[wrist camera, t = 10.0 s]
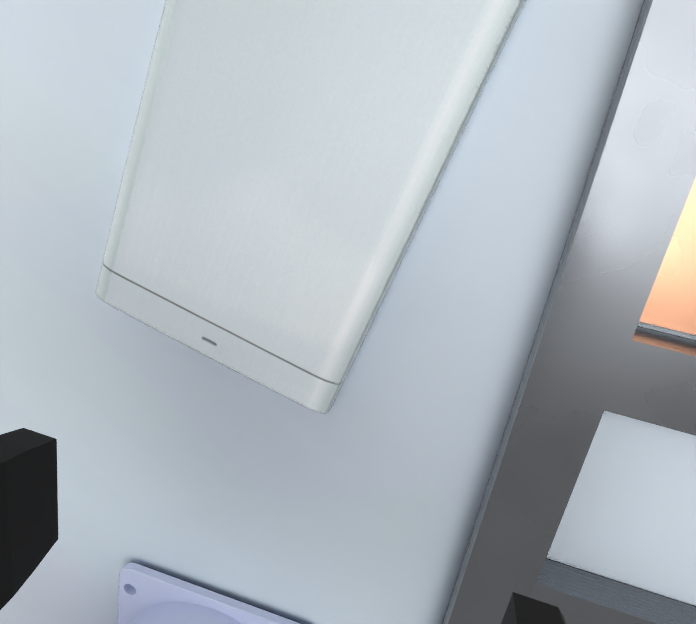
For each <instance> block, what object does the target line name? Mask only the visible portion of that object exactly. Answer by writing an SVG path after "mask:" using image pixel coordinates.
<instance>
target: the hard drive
mask: <svg viewBox="0 0 696 624" xmlns="http://www.w3.org/2000/svg"><path fill="white" fill-rule="evenodd" d="M525 1H526V0H166V1H165V6H164V10H163V14H162V18H161V22H160V26H159V30H158V33H157V37H156V41H155V45H154V49H153V53H152V57H151V61H150V65H149V70H148V74H147V78H146V82H145V87H144V91H143V95H142V99H141V103H140V107H139V111H138V116H137V120H136V124H135V128H134V132H133V136H132V140H131V144H130V149H129V153H128V157H127V160H126V166H125V170H124V173H123V177H122V181H121V185H120V190H119V194H118V198H117V202H116V207H115V211H114V216H113V220H112V225H111V229H110V233H109V237H108V241H107V245H106V249H105V253H104V258H103V265H102V267H101V272H100V276H99V280H98V285H97V289H96V295H97V296H98V297H99V298H100V299H101V300H102V301H104V302H105V303H107V304H109V305H110V306H112V307H114V308H116V309H118V310H120V311H122V312H124V313H126V314H127V315H129V316H131V317H133V318H135V319H137V320H139V321H141V322H143V323H145V324H146V325H148V326H150V327H152V328H154V329H156V330H158V331H160V332H162V333H164V334H166V335H167V336H169V337H171V338H173V339H175V340H177V341H179V342H181V343H183V344H185V345H187V346H188V347H190V348H192V349H194V350H196V351H198V352H200V353H202V354H204V355H206V356H208V357H209V358H211V359H214V360H216V361H217V362H219V363H221V364H223V365H225V366H226V367H228V368H230V369H232V370H234V371H236V372H238V373H240V374H242V375H244V376H246V377H248V378H250V379H252V380H254V381H256V382H258V383H260V384H261V385H263V386H265V387H267V388H269V389H271V390H273V391H275V392H277V393H279V394H281V395H283V396H285V397H287V398H289V399H291V400H293V401H295V402H296V403H298V404H300V405H302V406H304V407H306V408H309V409H311V410H313V411H317V412H320V413H324V414H326V413H327V412H328V411H329V409H330V407H331V406H332V403H333V402H334V400H335V398H336V396H337V394H338V392H339V390H340V388H341V385H342V383H343V381H344V379H345V377H346V375H347V373H348V371H349V369H350V367H351V365H352V363H353V361H354V359H355V357H356V355H357V353H358V351H359V348H360V346H361V344H362V342H363V340H364V338H365V336H366V334H367V332H368V330H369V328H370V325H371V323H372V321H373V319H374V317H375V315H376V313H377V311H378V309H379V307H380V305H381V303H382V300H383V298H384V296H385V294H386V292H387V290H388V288H389V286H390V284H391V282H392V280H393V278H394V275H395V273H396V271H397V269H398V267H399V265H400V263H401V261H402V259H403V257H404V255H405V252H406V250H407V248H408V246H409V244H410V242H411V240H412V238H413V236H414V234H415V232H416V229H417V227H418V225H419V223H420V221H421V219H422V217H423V215H424V213H425V210H426V208H427V206H428V204H429V202H430V200H431V198H432V196H433V194H434V192H435V189H436V187H437V185H438V183H439V181H440V179H441V177H442V175H443V173H444V171H445V169H446V166H447V164H448V162H449V160H450V158H451V156H452V154H453V152H454V150H455V148H456V146H457V144H458V141H459V139H460V137H461V135H462V133H463V131H464V129H465V127H466V125H467V122H468V120H469V118H470V116H471V114H472V112H473V110H474V108H475V106H476V104H477V102H478V99H479V97H480V95H481V93H482V91H483V89H484V87H485V85H486V83H487V81H488V79H489V76H490V74H491V72H492V70H493V68H494V66H495V64H496V62H497V60H498V57H499V55H500V53H501V51H502V49H503V47H504V45H505V43H506V41H507V39H508V36H509V34H510V32H511V30H512V28H513V26H514V24H515V22H516V20H517V18H518V16H519V13H520V11H521V9H522V7H523V5H524V3H525Z"/></svg>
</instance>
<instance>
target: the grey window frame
mask: <svg viewBox="0 0 696 624" xmlns="http://www.w3.org/2000/svg"><path fill="white" fill-rule="evenodd" d="M639 321H640V322H644V323H648V324H652V325H656V326H660V327H664V328H668V329H672V330H676V331H680V332H685V333H689V334H693V335H696V0H644V4H643V7H642V10H641V13H640V16H639V19H638V22H637V25H636V28H635V31H634V34H633V37H632V41H631V44H630V47H629V50H628V53H627V56H626V59H625V62H624V65H623V68H622V71H621V74H620V78H619V81H618V84H617V87H616V90H615V93H614V96H613V99H612V102H611V105H610V108H609V112H608V115H607V118H606V121H605V124H604V127H603V130H602V133H601V136H600V139H599V142H598V145H597V149H596V152H595V155H594V158H593V161H592V164H591V167H590V170H589V173H588V176H587V179H586V182H585V186H584V189H583V192H582V195H581V198H580V201H579V204H578V207H577V210H576V213H575V216H574V219H573V223H572V226H571V229H570V232H569V235H568V238H567V241H566V244H565V247H564V250H563V253H562V257H561V260H560V263H559V266H558V269H557V272H556V275H555V278H554V281H553V284H552V287H551V290H550V294H549V297H548V300H547V303H546V306H545V309H544V312H543V315H542V318H541V321H540V324H539V327H538V331H537V334H536V337H535V340H534V343H533V346H532V349H531V352H530V355H529V358H528V361H527V364H526V368H525V371H524V374H523V377H522V380H521V383H520V386H519V389H518V392H517V395H516V398H515V402H514V405H513V408H512V411H511V414H510V417H509V420H508V423H507V426H506V429H505V432H504V435H503V439H502V442H501V445H500V448H499V451H498V454H497V457H496V460H495V463H494V466H493V469H492V472H491V476H490V479H489V482H488V485H487V488H486V491H485V494H484V497H483V500H482V503H481V506H480V509H479V513H478V516H477V519H476V522H475V525H474V528H473V531H472V534H471V537H470V540H469V543H468V547H467V550H466V553H465V556H464V559H463V562H462V565H461V568H460V571H459V574H458V577H457V580H456V584H455V587H454V590H453V593H452V596H451V599H450V602H449V605H448V608H447V611H446V614H445V617H444V621H443V624H501V622H502V619H503V617H504V614H505V612H506V609H507V606H508V604H509V601H510V598H511V596H512V593H513V592H515V593H518V594H521V595H524V596H527V597H530V598H533V599H536V600H539V601H542V602H544V603H547V604H550V605H553V606H556V607H558V608H559V609H560V611H561V613H562V615H563V616H564V619H565V622H566V624H696V607H695V606H691V605H688V604H685V603H682V602H679V601H676V600H673V599H670V598H667V597H664V596H660V595H657V594H654V593H651V592H648V591H645V590H642V589H639V588H636V587H633V586H629V585H626V584H623V583H620V582H617V581H614V580H611V579H608V578H605V577H601V576H598V575H595V574H592V573H589V572H586V571H583V570H580V569H577V568H574V567H570V566H567V565H564V564H561V563H558V562H555V561H552V560H549V559H546V557H547V554H548V552H549V549H550V547H551V544H552V541H553V539H554V536H555V534H556V531H557V529H558V526H559V524H560V521H561V519H562V516H563V514H564V511H565V508H566V506H567V503H568V501H569V498H570V496H571V493H572V491H573V488H574V486H575V483H576V480H577V478H578V475H579V473H580V470H581V468H582V465H583V463H584V460H585V458H586V455H587V452H588V450H589V447H590V445H591V442H592V440H593V437H594V435H595V432H596V430H597V427H598V425H599V422H600V419H601V417H602V414H603V412H604V410H605V411H609V412H612V413H616V414H620V415H623V416H627V417H631V418H634V419H638V420H641V421H645V422H649V423H652V424H656V425H660V426H663V427H667V428H671V429H674V430H678V431H681V432H685V433H689V434H692V435H696V341H695V340H691V339H687V338H683V337H679V336H675V335H671V334H667V333H663V332H659V331H655V330H651V329H647V328H643V327H639V326H637V325H638V323H639Z"/></svg>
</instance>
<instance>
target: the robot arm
mask: <svg viewBox="0 0 696 624" xmlns="http://www.w3.org/2000/svg"><path fill="white" fill-rule="evenodd" d="M57 540H58V502H57V442H56V439H55V438H52V437H49V436H46V435H43V434H40V433H37V432H34V431H31V430H28V429H25V428H22V429H18V430H15V431H12V432H8V433H5V434H2V435H0V610H1V609H2V608H3V607H4V606H5V605H6V604H7V602H8V601H9V600H10V599H11V598H12V597H13V596H14V595H15V594H16V592H17V591H18V590H19V589H20V587H21V586H22V585H23V584H24V582H25V581H26V580H27V579H28V578H29V576H30V575H31V574H32V573H33V571H34V570H35V569H36V567H37V566H38V565H39V563H40V562H41V561H42V559H43V558H44V557H45V555H46V554H47V553H48V552H49V550H50V549H51V548H52V546H53V545H54V544H55V542H56V541H57ZM118 624H300V623H297V622H295V621H292V620H289V619H287V618H284V617H281V616H278V615H276V614H273V613H270V612H267V611H265V610H262V609H259V608H257V607H254V606H251V605H248V604H246V603H243V602H240V601H237V600H235V599H232V598H229V597H227V596H224V595H221V594H218V593H216V592H213V591H210V590H207V589H205V588H202V587H199V586H197V585H194V584H191V583H188V582H186V581H183V580H180V579H177V578H175V577H172V576H169V575H167V574H164V573H161V572H158V571H156V570H153V569H150V568H147V567H145V566H142V565H139V564H136V563H127V564H126V565H125V566H124V567H123V569H122V570H121V571H120V574H119V599H118ZM501 624H566V622H565V619H564V616H563V615H562V613H561V611H560V609H559V608H558V607H556V606H553V605H550V604H547V603H544V602H542V601H539V600H536V599H533V598H530V597H527V596H524V595H521V594H518V593H515V592H513V593H512V596H511V598H510V601H509V604H508V606H507V609H506V612H505V614H504V617H503V619H502V622H501Z"/></svg>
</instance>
